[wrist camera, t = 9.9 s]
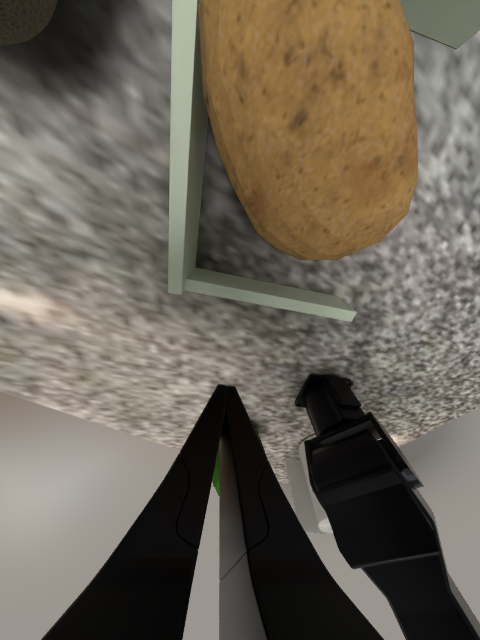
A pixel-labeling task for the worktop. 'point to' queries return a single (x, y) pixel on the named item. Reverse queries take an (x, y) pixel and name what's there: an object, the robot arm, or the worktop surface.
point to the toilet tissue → (306, 495)
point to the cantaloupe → (23, 19)
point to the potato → (313, 117)
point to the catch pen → (190, 147)
